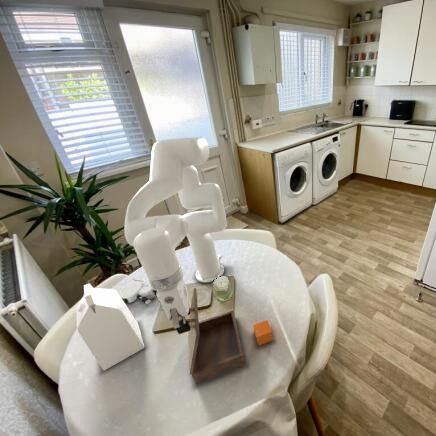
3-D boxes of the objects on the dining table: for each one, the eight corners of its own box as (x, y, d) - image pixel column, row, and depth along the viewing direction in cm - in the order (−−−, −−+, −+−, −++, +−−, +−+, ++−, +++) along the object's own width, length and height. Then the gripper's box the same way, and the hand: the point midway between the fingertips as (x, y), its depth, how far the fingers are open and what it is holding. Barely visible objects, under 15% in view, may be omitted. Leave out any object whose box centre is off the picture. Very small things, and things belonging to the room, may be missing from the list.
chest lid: (196, 287, 76) (179, 288, 73) (199, 334, 61) (177, 337, 59) (190, 323, 81) (174, 325, 79) (192, 374, 67) (172, 378, 65)
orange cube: (268, 329, 84) (267, 319, 82) (273, 341, 80) (271, 331, 78) (255, 334, 83) (253, 324, 80) (258, 346, 79) (257, 337, 76)
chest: (235, 320, 88) (233, 310, 86) (245, 365, 74) (243, 355, 71) (193, 334, 84) (190, 324, 81) (196, 385, 69) (191, 375, 67)
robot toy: (166, 286, 106) (132, 284, 106) (163, 279, 103) (129, 277, 104) (150, 309, 95) (113, 307, 95) (147, 301, 93) (109, 299, 93)
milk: (144, 347, 80) (112, 291, 67) (103, 370, 74) (60, 314, 61) (138, 323, 89) (108, 270, 76) (100, 342, 82) (61, 288, 70)
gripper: (181, 294, 54) (199, 344, 63) (182, 252, 68) (197, 297, 77) (144, 305, 52) (168, 355, 61) (153, 259, 66) (172, 305, 75)
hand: (184, 322), depth 69 cm, fingers closed on chest lid, 5 cm apart
